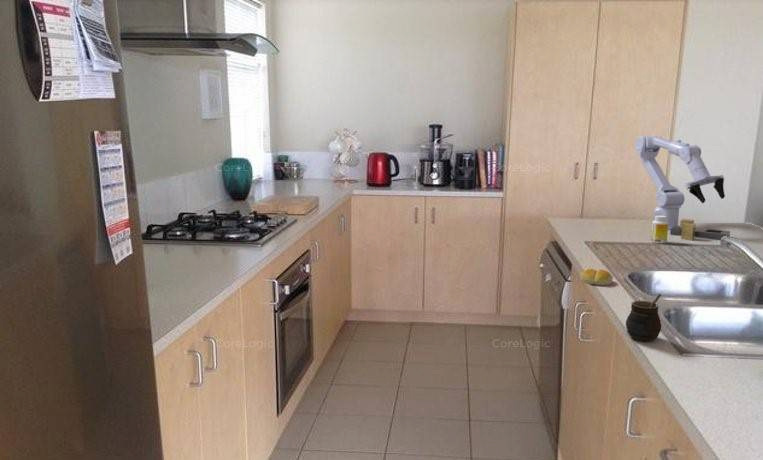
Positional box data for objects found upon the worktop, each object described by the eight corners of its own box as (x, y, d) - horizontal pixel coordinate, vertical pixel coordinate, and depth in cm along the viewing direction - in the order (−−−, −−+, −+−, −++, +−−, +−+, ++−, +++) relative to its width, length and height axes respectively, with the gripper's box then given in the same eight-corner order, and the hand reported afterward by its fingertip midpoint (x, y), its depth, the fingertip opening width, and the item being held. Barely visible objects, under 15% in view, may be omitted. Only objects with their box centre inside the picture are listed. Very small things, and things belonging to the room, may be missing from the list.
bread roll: (583, 277, 184) (584, 264, 184) (614, 281, 179) (614, 268, 179) (576, 283, 177) (577, 270, 177) (607, 288, 173) (608, 274, 172)
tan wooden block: (680, 239, 235) (682, 224, 234) (683, 237, 238) (685, 222, 237) (691, 240, 233) (693, 225, 232) (694, 238, 236) (696, 224, 235)
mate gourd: (617, 335, 135) (620, 293, 134) (641, 330, 139) (644, 288, 137) (643, 346, 129) (646, 302, 127) (668, 340, 132) (671, 297, 130)
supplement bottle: (670, 242, 229) (672, 216, 227) (658, 244, 227) (660, 217, 225) (658, 240, 234) (660, 214, 232) (647, 241, 232) (649, 215, 230)
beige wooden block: (679, 234, 244) (680, 220, 243) (682, 233, 247) (683, 219, 246) (690, 235, 241) (691, 221, 240) (692, 234, 244) (694, 220, 243)
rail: (670, 234, 245) (670, 228, 244) (676, 231, 250) (676, 225, 250) (724, 240, 231) (725, 234, 231) (729, 237, 237) (730, 231, 237)
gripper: (684, 170, 237) (698, 199, 231) (720, 161, 236) (735, 190, 230) (678, 179, 243) (692, 207, 237) (714, 171, 243) (729, 199, 236)
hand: (713, 199), depth 234 cm, fingers open, 7 cm apart
